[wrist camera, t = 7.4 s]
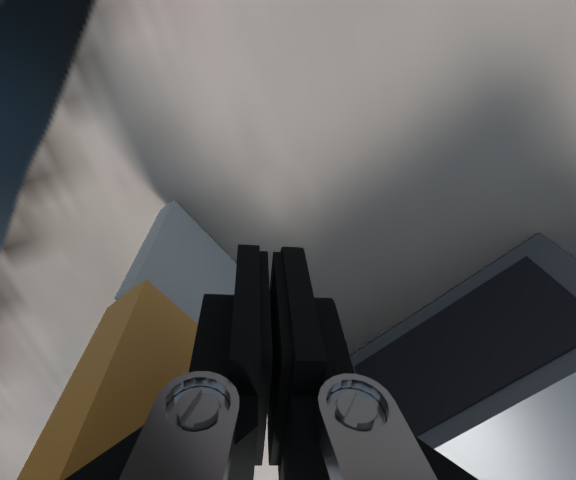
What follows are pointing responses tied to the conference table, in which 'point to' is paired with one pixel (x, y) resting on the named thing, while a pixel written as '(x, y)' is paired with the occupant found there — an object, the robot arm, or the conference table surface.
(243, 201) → the conference table surface
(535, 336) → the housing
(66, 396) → the door
